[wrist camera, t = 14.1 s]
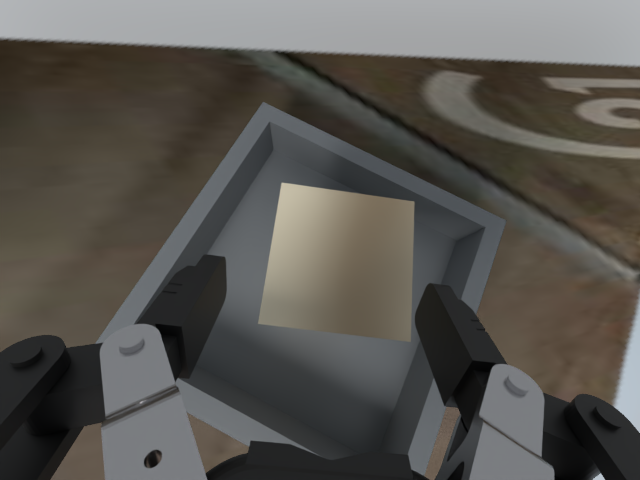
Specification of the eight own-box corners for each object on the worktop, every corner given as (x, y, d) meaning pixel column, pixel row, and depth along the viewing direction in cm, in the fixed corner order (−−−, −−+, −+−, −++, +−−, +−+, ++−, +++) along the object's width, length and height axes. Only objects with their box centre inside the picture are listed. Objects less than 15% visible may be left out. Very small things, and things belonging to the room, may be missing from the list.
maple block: (277, 320, 17) (258, 323, 8) (288, 247, 18) (281, 182, 9) (352, 329, 17) (410, 342, 8) (357, 256, 18) (414, 201, 10)
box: (132, 347, 16) (86, 356, 13) (268, 139, 21) (263, 101, 17) (380, 482, 16) (405, 533, 12) (467, 238, 20) (506, 220, 16)
